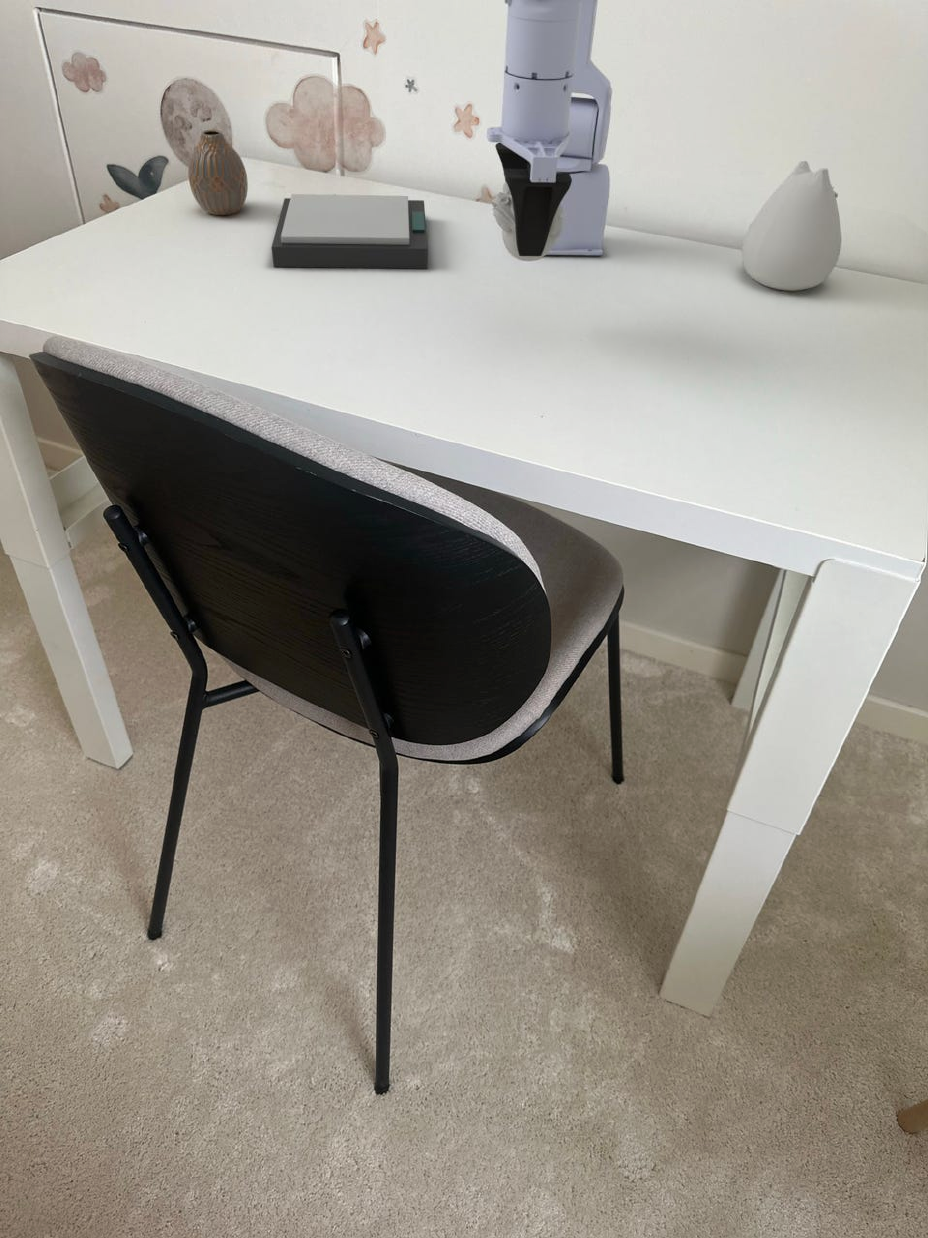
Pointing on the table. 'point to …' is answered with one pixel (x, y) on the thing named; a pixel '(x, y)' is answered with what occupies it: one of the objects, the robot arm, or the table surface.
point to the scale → (351, 232)
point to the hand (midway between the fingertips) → (525, 240)
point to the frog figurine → (507, 223)
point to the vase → (217, 175)
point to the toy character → (795, 233)
